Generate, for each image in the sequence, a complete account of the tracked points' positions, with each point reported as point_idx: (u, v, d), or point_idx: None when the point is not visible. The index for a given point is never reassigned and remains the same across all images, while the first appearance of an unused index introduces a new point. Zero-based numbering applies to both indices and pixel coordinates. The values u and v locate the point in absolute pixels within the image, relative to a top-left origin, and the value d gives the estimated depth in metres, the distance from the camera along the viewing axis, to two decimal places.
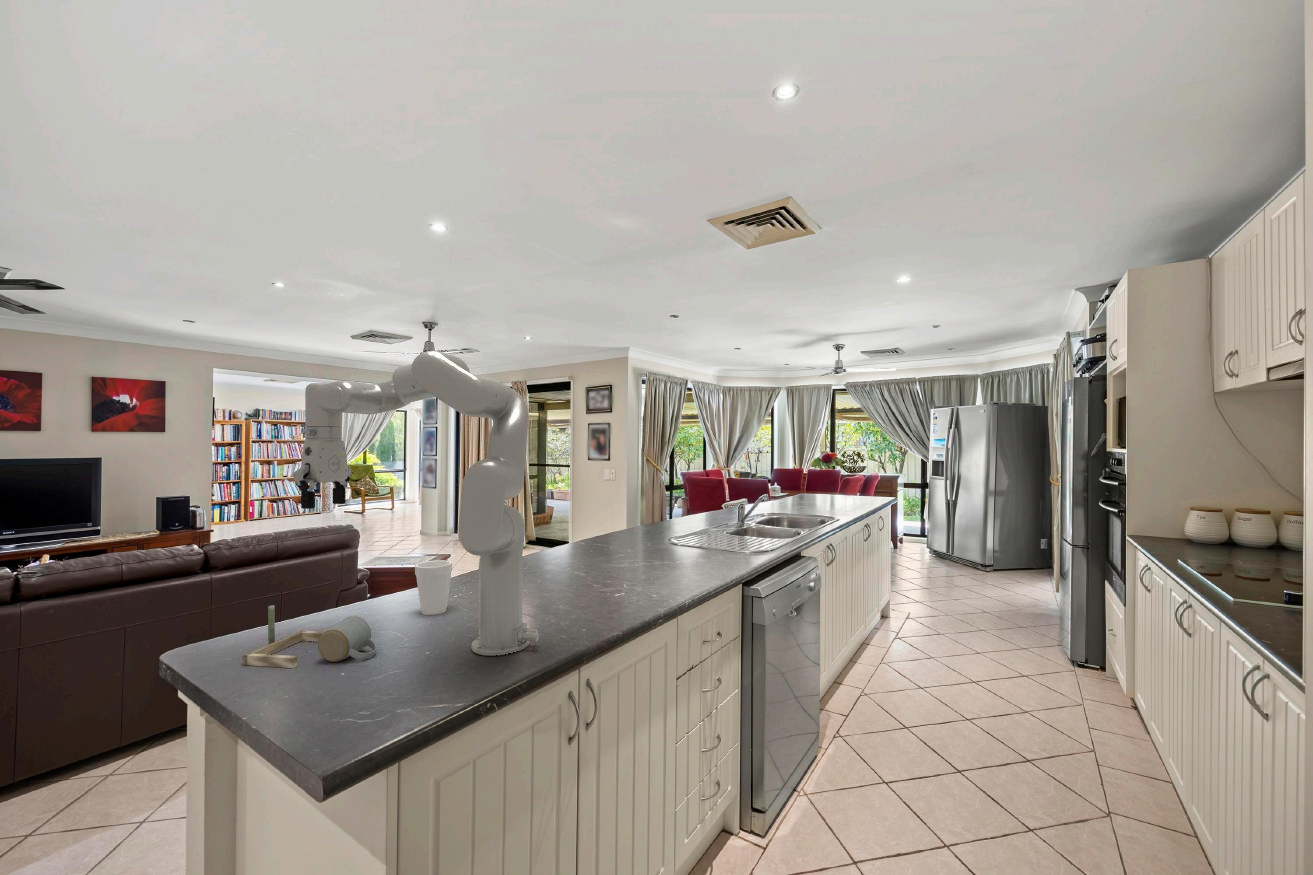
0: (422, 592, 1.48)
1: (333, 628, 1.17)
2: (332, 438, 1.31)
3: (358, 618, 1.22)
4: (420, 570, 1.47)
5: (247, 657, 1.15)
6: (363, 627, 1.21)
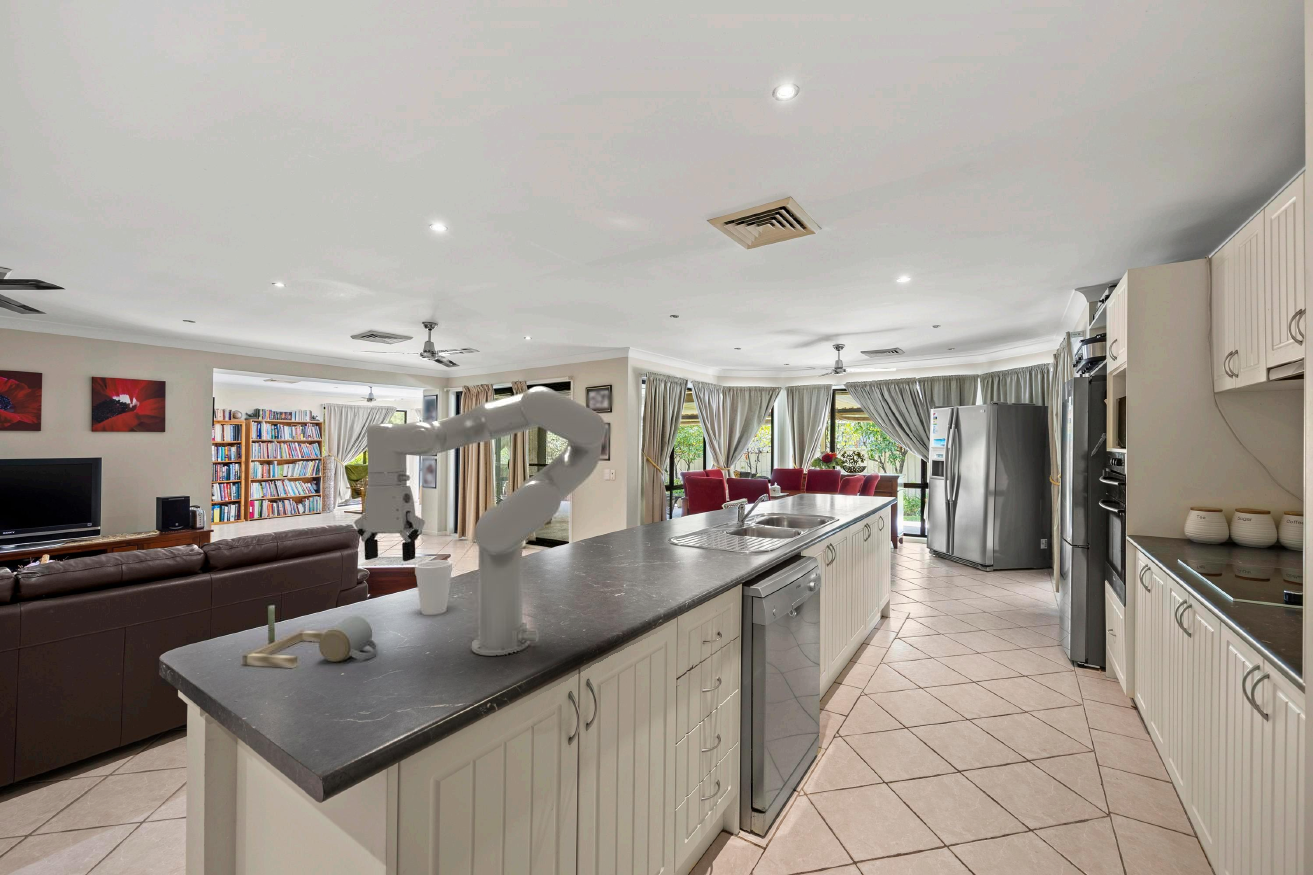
0: (422, 592, 1.48)
1: (334, 628, 1.17)
2: None
3: (359, 618, 1.22)
4: (420, 570, 1.47)
5: (247, 657, 1.15)
6: (364, 627, 1.21)
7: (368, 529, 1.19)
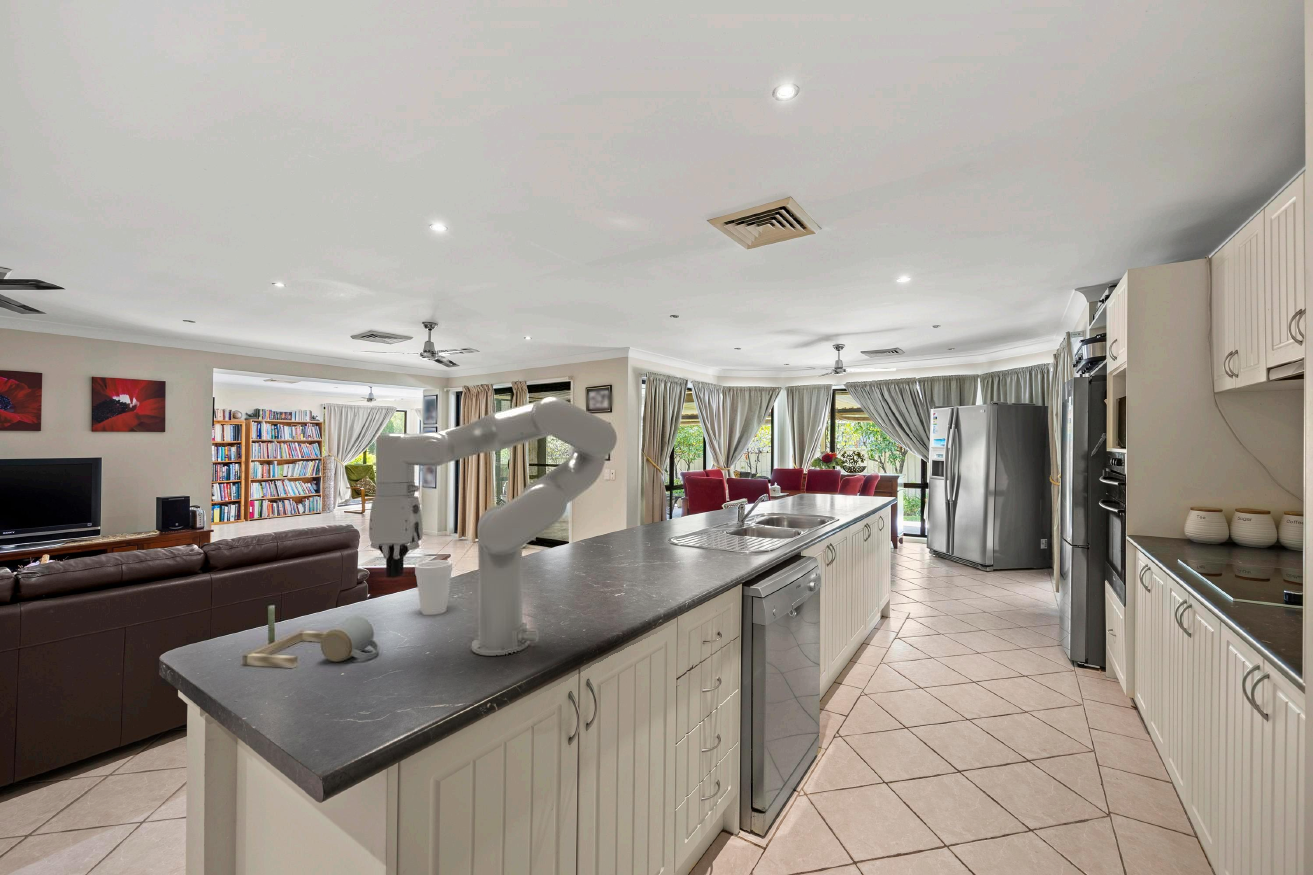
0: (422, 592, 1.48)
1: (336, 628, 1.17)
2: None
3: (361, 618, 1.22)
4: (420, 570, 1.47)
5: (247, 657, 1.15)
6: (366, 627, 1.21)
7: (373, 540, 1.17)
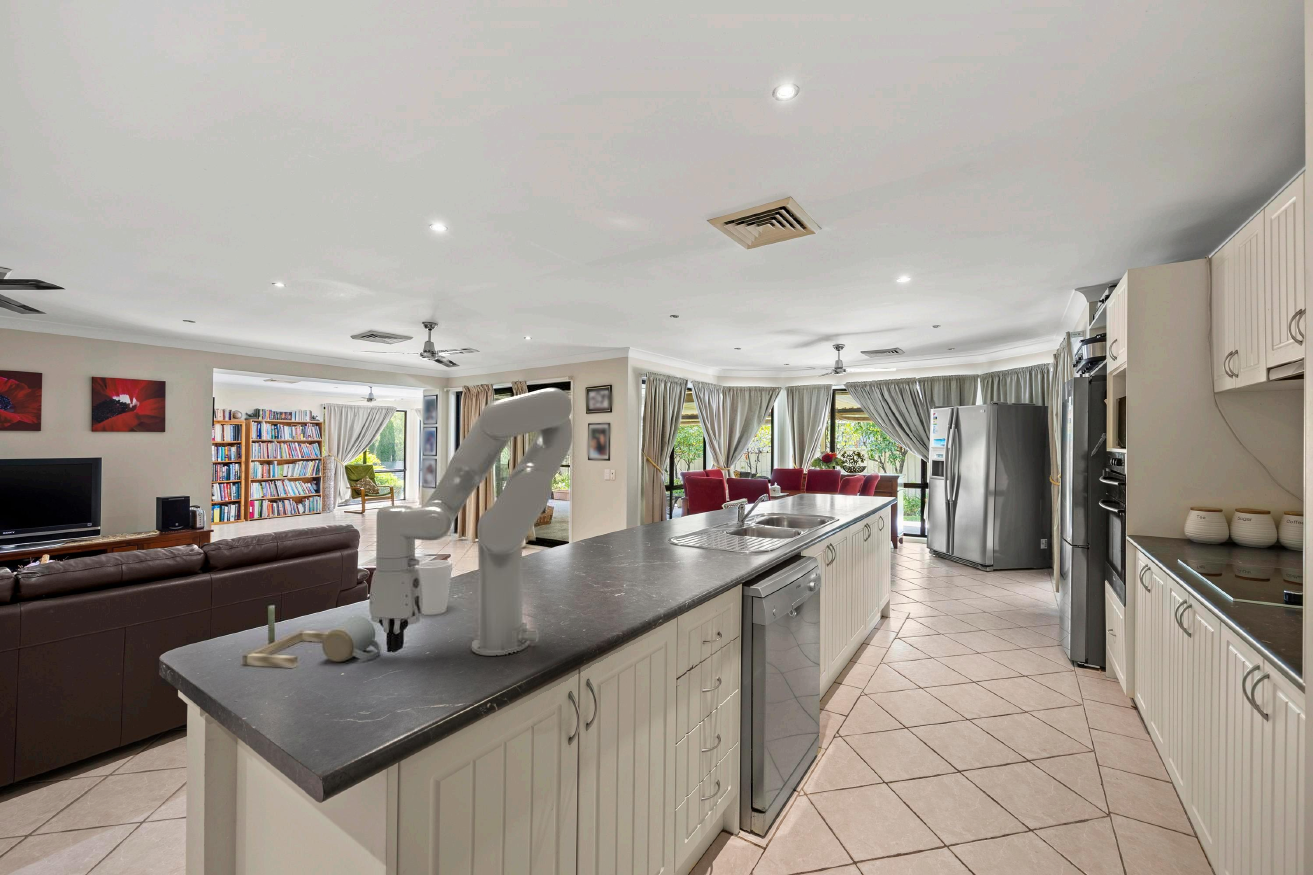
0: (422, 592, 1.48)
1: (337, 628, 1.17)
2: None
3: (362, 618, 1.22)
4: (420, 570, 1.47)
5: (247, 657, 1.15)
6: (367, 627, 1.21)
7: (374, 614, 1.17)
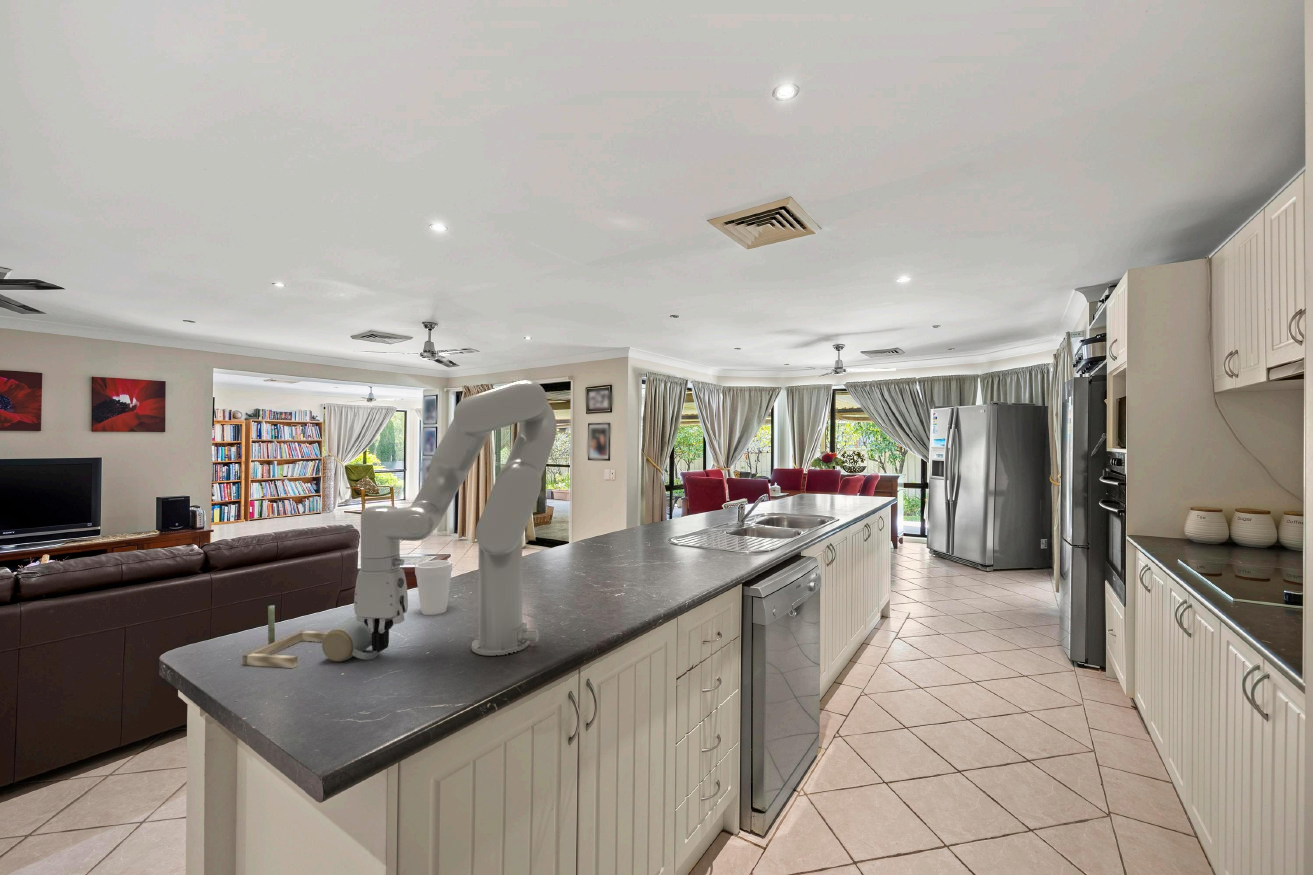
0: (422, 592, 1.48)
1: (337, 628, 1.17)
2: None
3: None
4: (420, 570, 1.47)
5: (247, 657, 1.15)
6: (367, 627, 1.21)
7: (358, 614, 1.17)
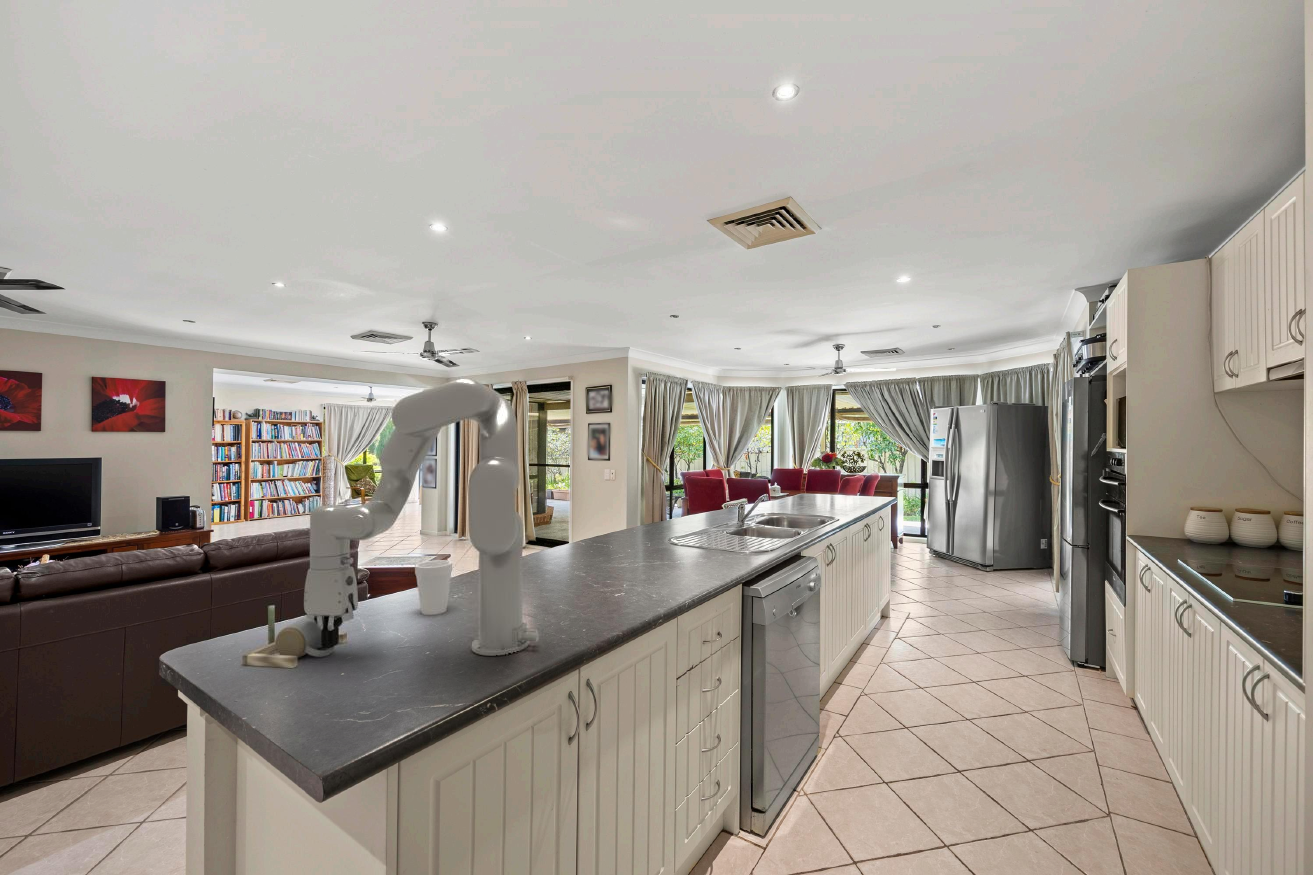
0: (422, 592, 1.48)
1: (290, 626, 1.19)
2: None
3: None
4: (420, 570, 1.47)
5: (247, 657, 1.15)
6: None
7: (308, 611, 1.19)
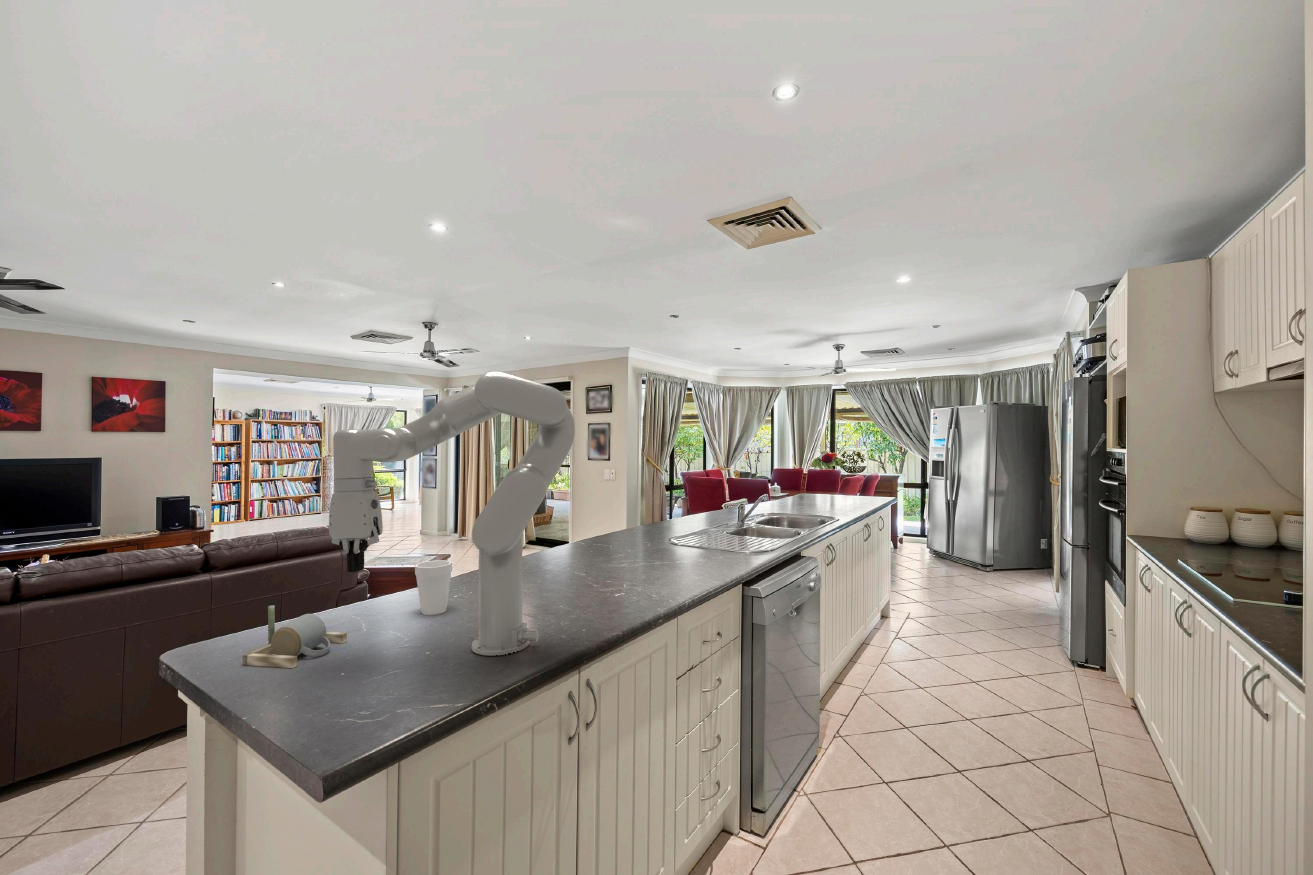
0: (422, 592, 1.48)
1: (286, 625, 1.19)
2: None
3: (313, 616, 1.24)
4: (420, 570, 1.47)
5: (247, 657, 1.15)
6: (317, 624, 1.23)
7: (333, 535, 1.19)
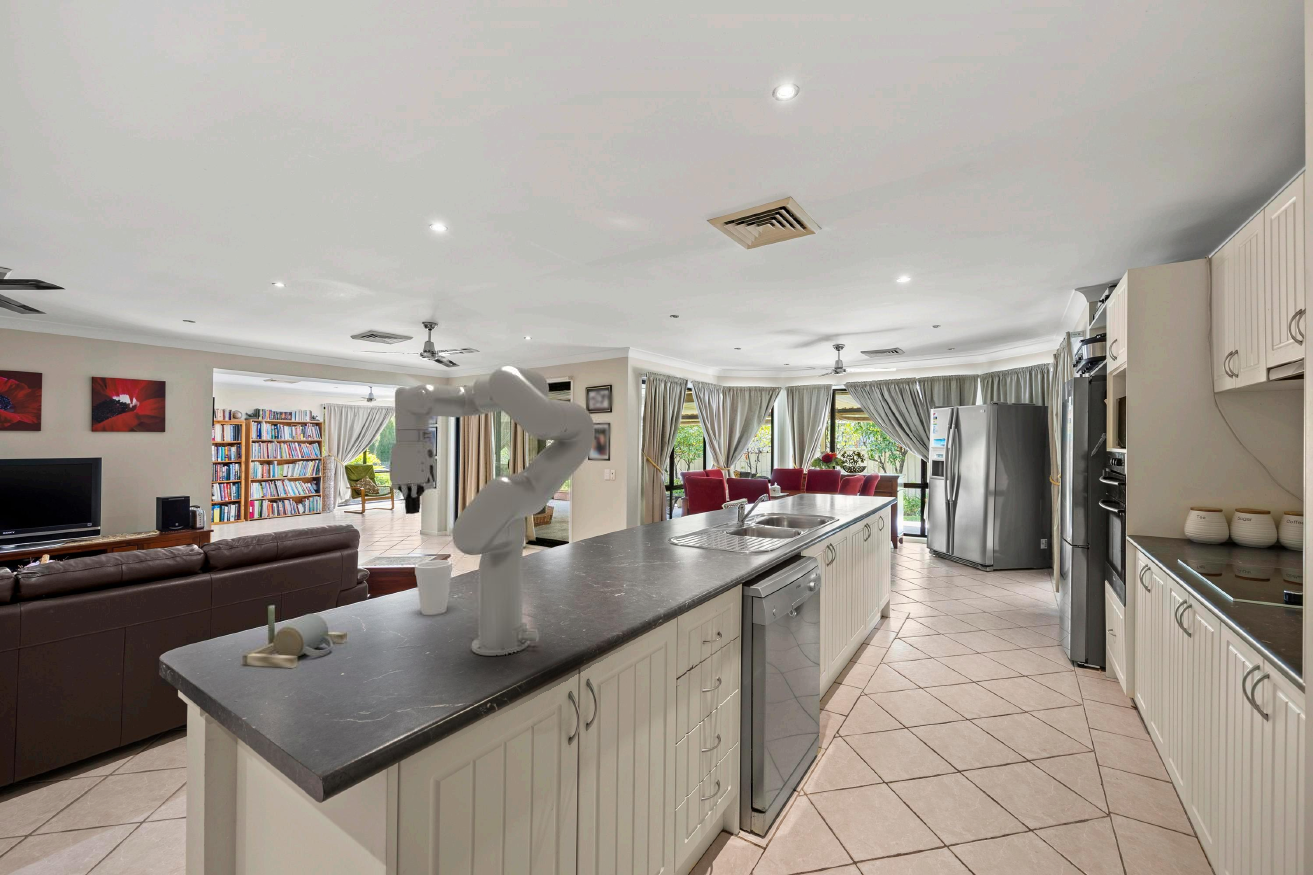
0: (422, 592, 1.48)
1: (288, 625, 1.19)
2: None
3: (315, 616, 1.24)
4: (420, 570, 1.47)
5: (247, 657, 1.15)
6: (319, 624, 1.23)
7: (393, 480, 1.33)
